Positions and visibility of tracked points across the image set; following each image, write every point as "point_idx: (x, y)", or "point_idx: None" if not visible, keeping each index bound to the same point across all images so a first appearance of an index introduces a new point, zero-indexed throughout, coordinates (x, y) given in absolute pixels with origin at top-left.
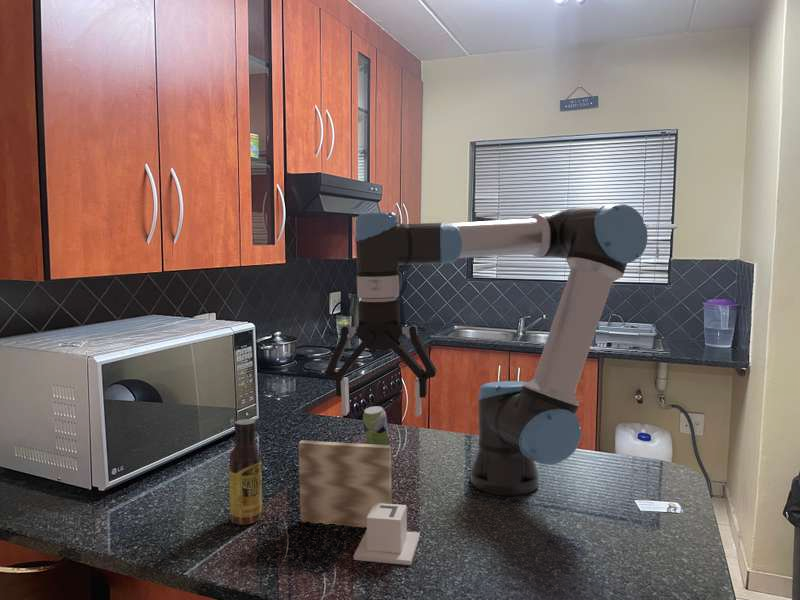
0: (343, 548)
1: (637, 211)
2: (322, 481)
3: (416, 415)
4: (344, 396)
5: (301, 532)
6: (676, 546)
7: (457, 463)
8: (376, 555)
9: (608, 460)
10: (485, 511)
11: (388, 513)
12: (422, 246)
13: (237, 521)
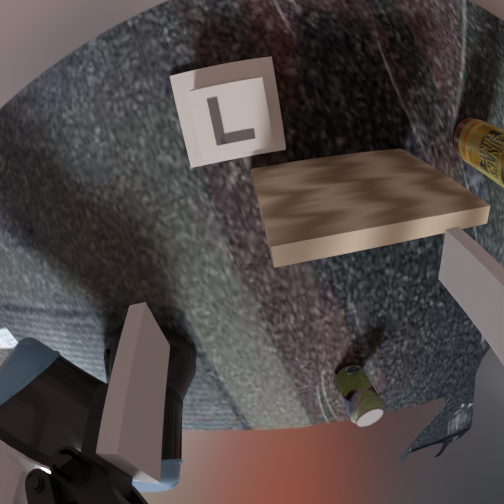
0: (303, 85)
1: None
2: (402, 177)
3: (141, 307)
4: (497, 276)
5: (387, 117)
6: None
7: (232, 380)
8: (232, 68)
9: None
10: (132, 277)
11: (224, 109)
12: None
13: (474, 118)
